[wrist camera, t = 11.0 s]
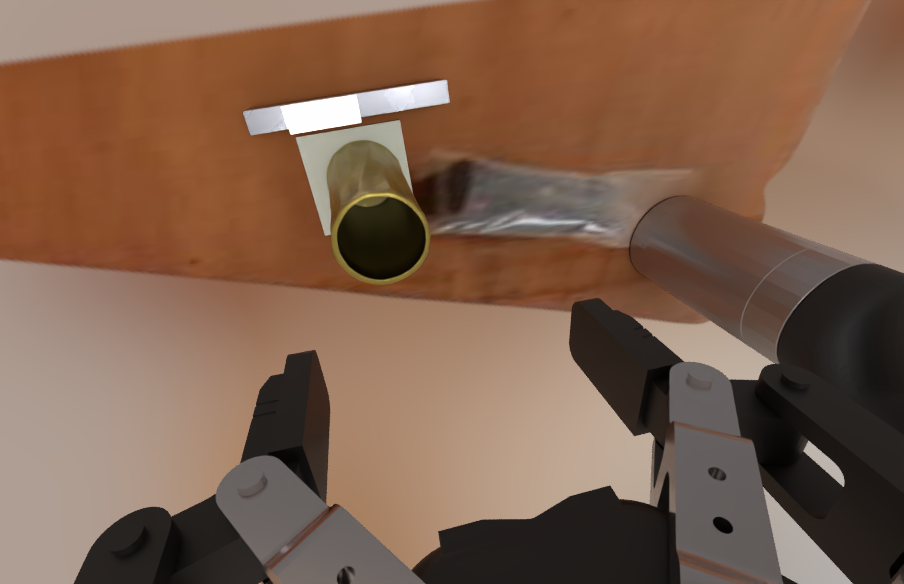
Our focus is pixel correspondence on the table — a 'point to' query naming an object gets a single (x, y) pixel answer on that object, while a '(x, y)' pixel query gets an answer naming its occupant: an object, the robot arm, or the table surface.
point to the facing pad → (326, 144)
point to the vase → (374, 215)
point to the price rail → (344, 107)
